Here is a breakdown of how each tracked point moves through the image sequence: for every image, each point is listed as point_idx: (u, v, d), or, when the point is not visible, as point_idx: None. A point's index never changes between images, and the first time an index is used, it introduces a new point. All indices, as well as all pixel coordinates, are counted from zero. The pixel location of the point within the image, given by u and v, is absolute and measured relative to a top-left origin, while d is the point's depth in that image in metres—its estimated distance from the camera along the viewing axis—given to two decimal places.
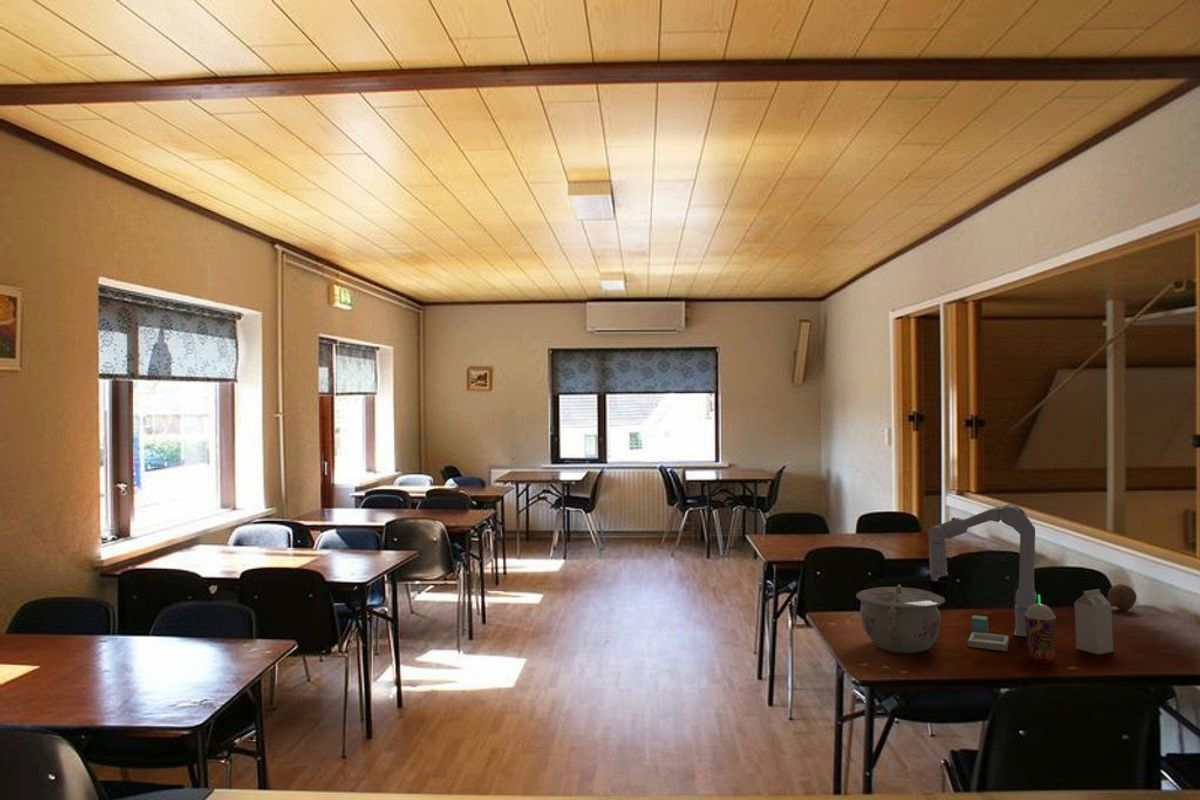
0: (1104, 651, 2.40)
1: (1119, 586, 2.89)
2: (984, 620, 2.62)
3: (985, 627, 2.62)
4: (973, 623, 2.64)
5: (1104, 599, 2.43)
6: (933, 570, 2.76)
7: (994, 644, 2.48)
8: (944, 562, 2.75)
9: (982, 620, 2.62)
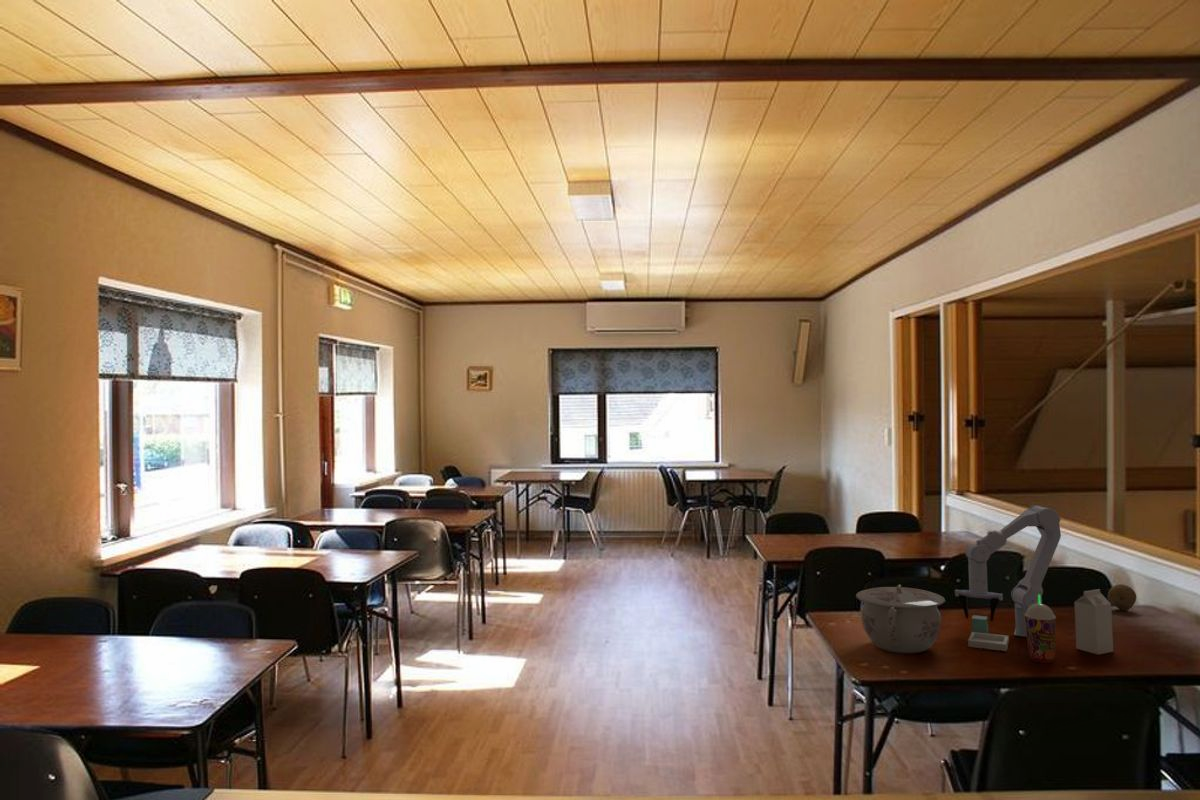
0: (1104, 651, 2.40)
1: (1119, 586, 2.89)
2: (984, 620, 2.62)
3: (985, 627, 2.62)
4: (973, 623, 2.64)
5: (1104, 599, 2.43)
6: None
7: (994, 644, 2.48)
8: (972, 582, 2.64)
9: (982, 620, 2.62)
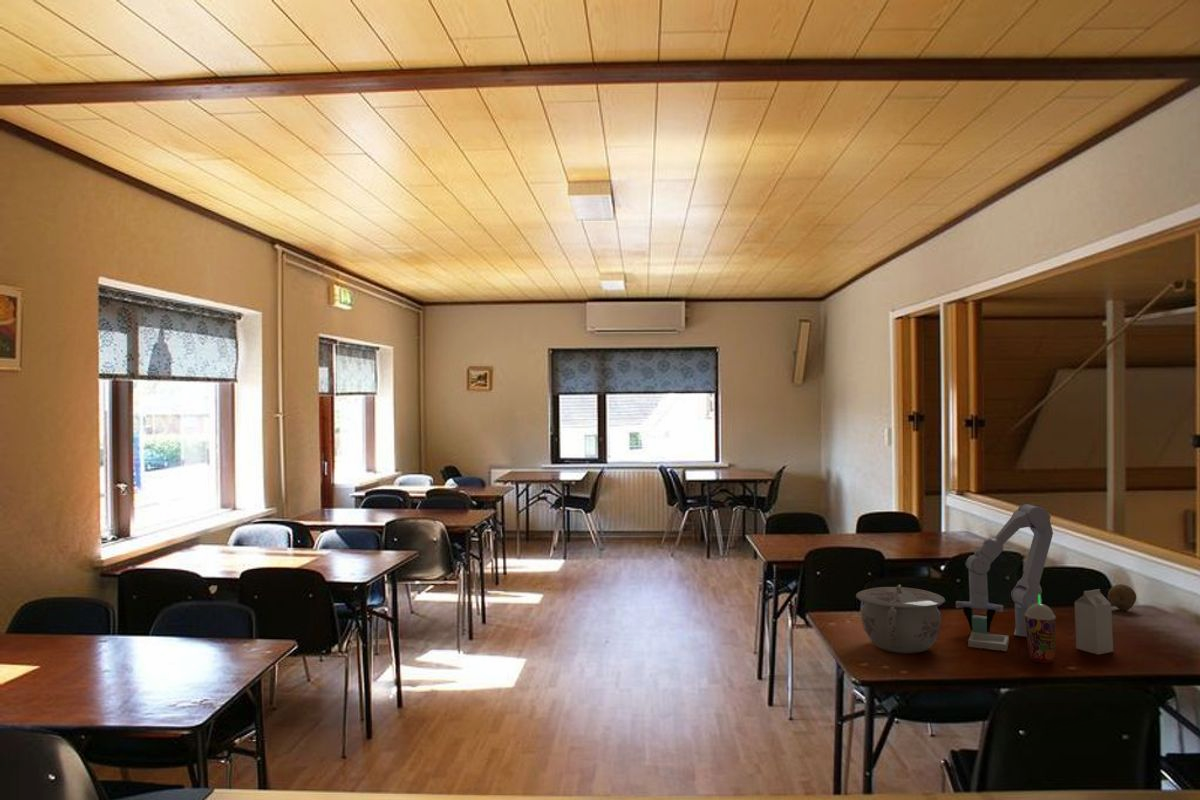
0: (1104, 651, 2.40)
1: (1119, 586, 2.89)
2: (984, 620, 2.62)
3: (985, 627, 2.62)
4: (973, 623, 2.64)
5: (1104, 599, 2.43)
6: None
7: (994, 644, 2.48)
8: (973, 593, 2.64)
9: (982, 620, 2.62)
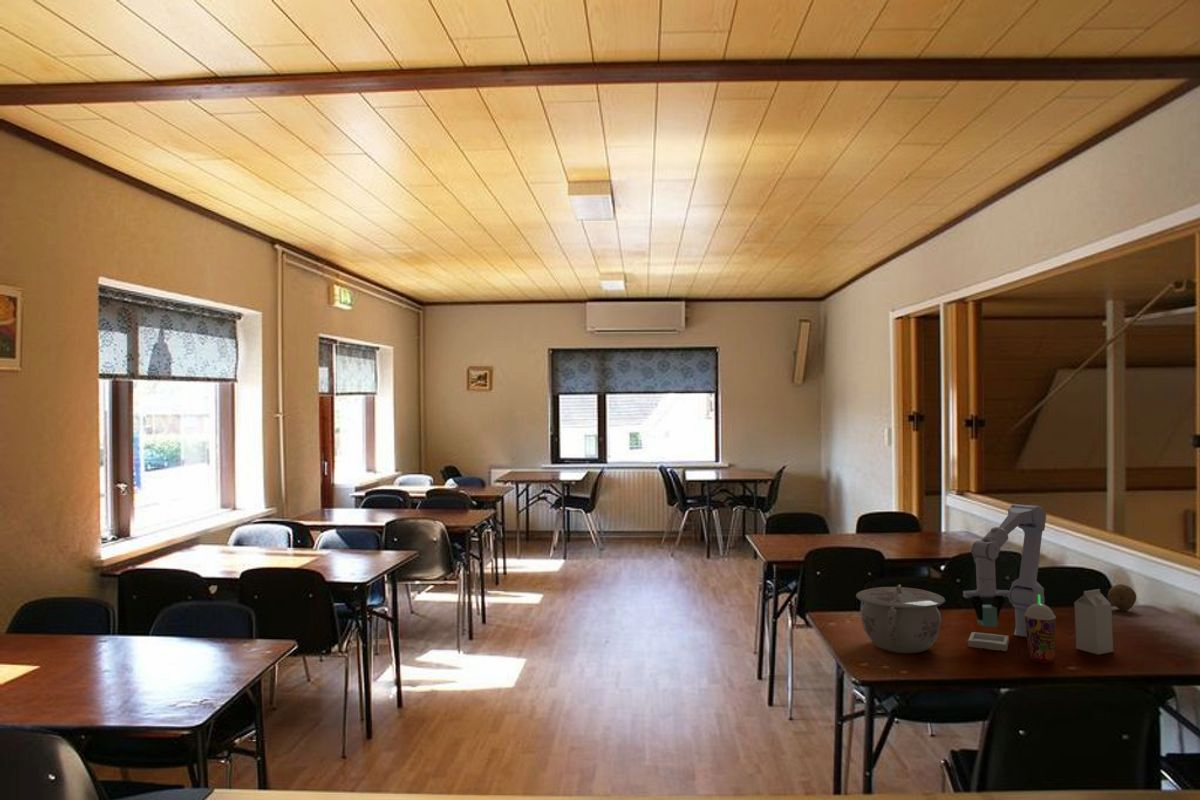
0: (1104, 651, 2.40)
1: (1119, 586, 2.89)
2: (995, 608, 2.52)
3: (996, 616, 2.52)
4: (984, 613, 2.52)
5: (1104, 599, 2.43)
6: None
7: (994, 644, 2.48)
8: (985, 581, 2.52)
9: (993, 609, 2.52)
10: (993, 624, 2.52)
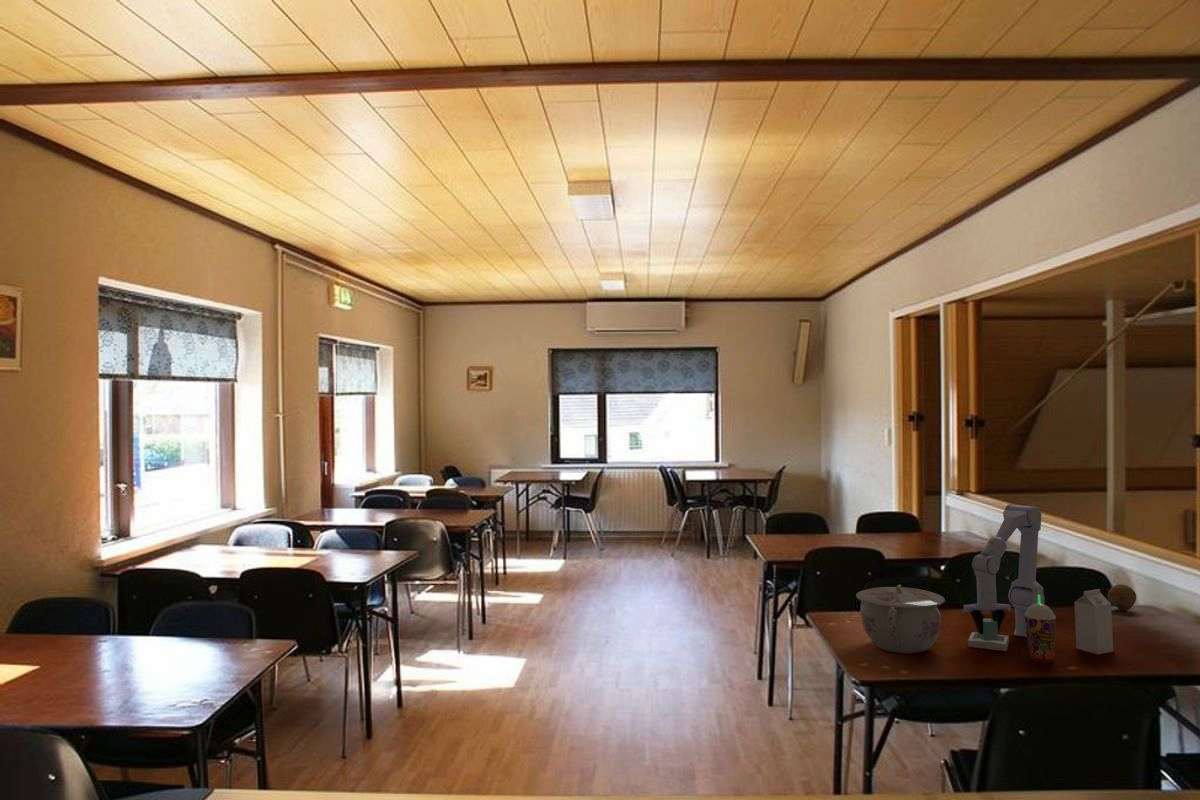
0: (1104, 651, 2.40)
1: (1119, 586, 2.89)
2: (995, 623, 2.52)
3: (996, 630, 2.51)
4: (985, 627, 2.52)
5: (1104, 599, 2.43)
6: (977, 601, 2.55)
7: (994, 644, 2.48)
8: (985, 595, 2.51)
9: (993, 623, 2.52)
10: (994, 638, 2.51)
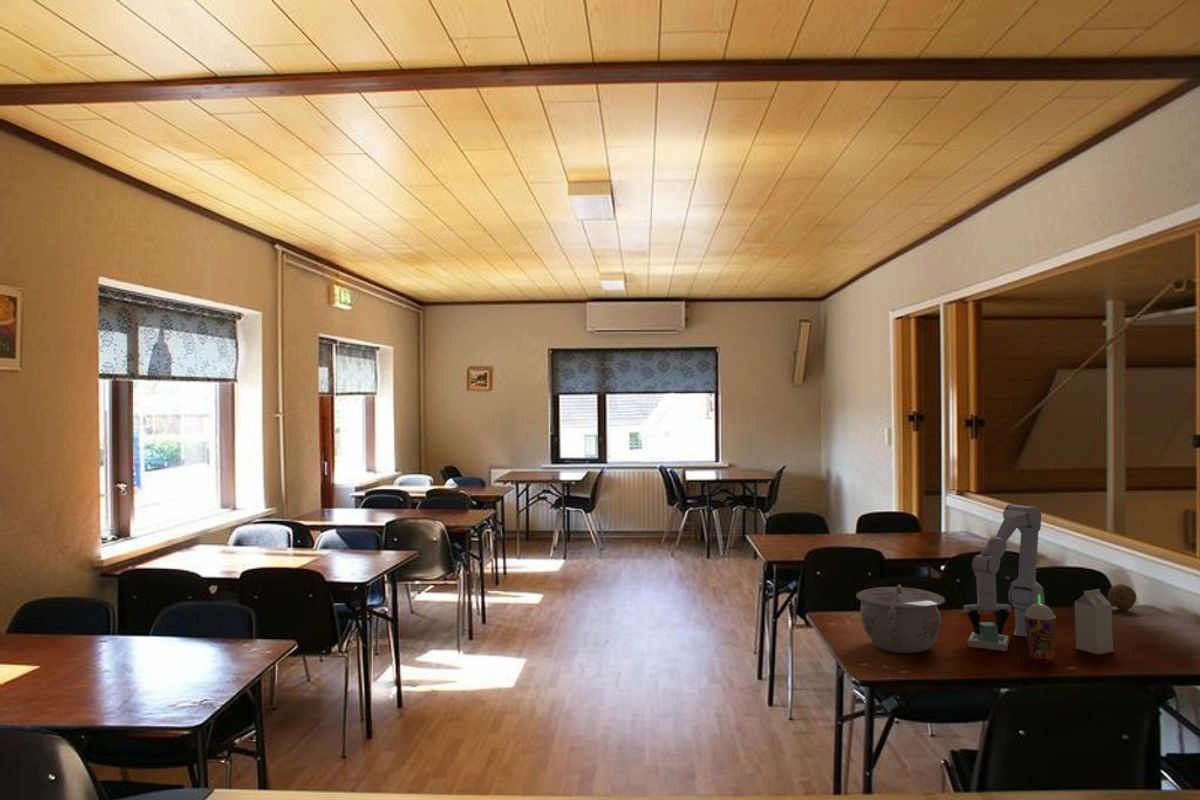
0: (1104, 651, 2.40)
1: (1119, 586, 2.89)
2: (995, 626, 2.51)
3: (996, 634, 2.51)
4: (985, 631, 2.52)
5: (1104, 599, 2.43)
6: (977, 601, 2.55)
7: (994, 644, 2.48)
8: (985, 595, 2.51)
9: (994, 627, 2.51)
10: None
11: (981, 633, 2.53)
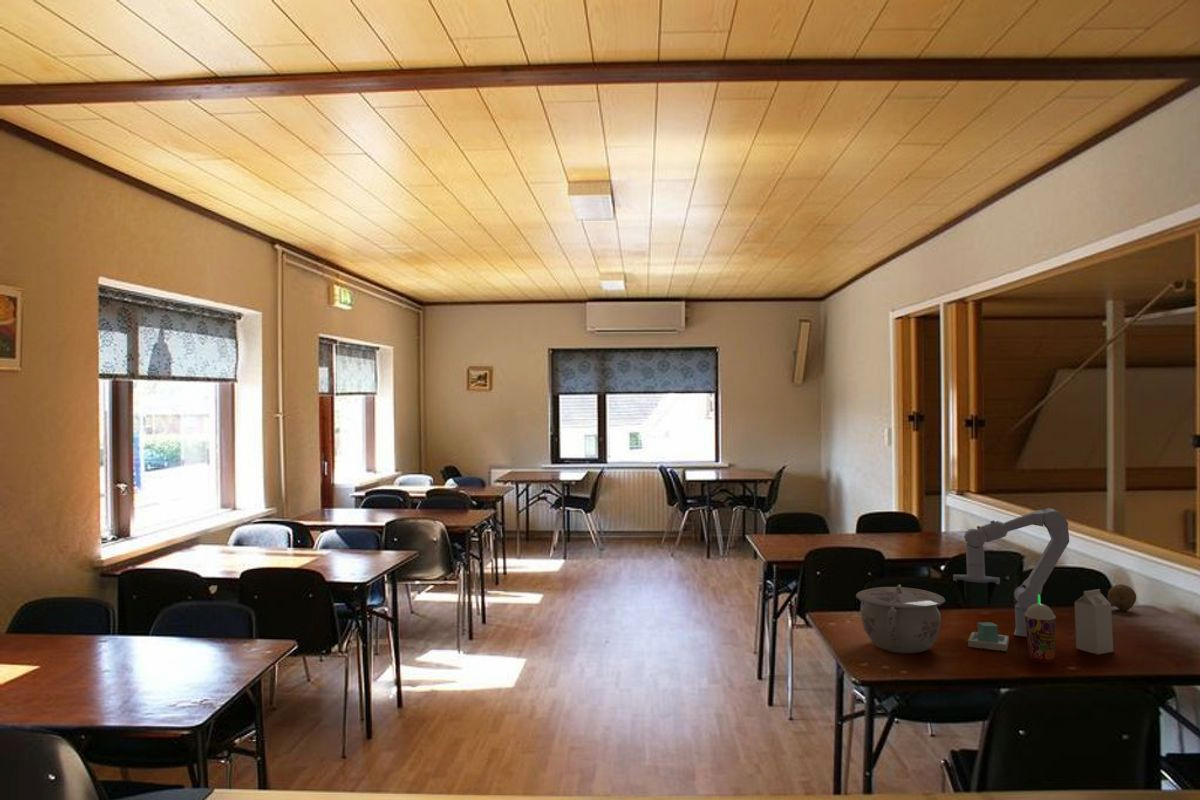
0: (1104, 651, 2.40)
1: (1119, 586, 2.89)
2: (995, 626, 2.51)
3: (996, 634, 2.51)
4: (985, 631, 2.52)
5: (1104, 599, 2.43)
6: None
7: (994, 644, 2.48)
8: (970, 566, 2.68)
9: (994, 627, 2.51)
10: None
11: (981, 633, 2.53)
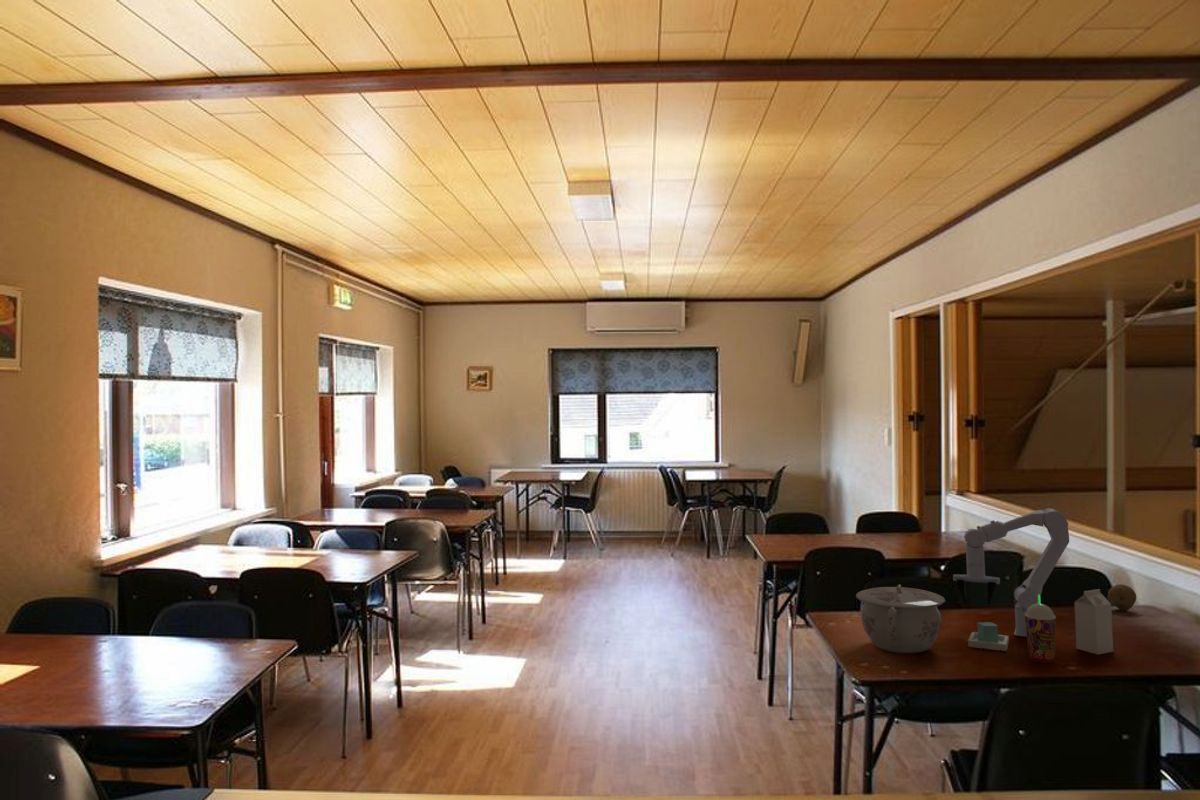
0: (1104, 651, 2.40)
1: (1119, 586, 2.89)
2: (995, 626, 2.51)
3: (996, 634, 2.51)
4: (985, 631, 2.52)
5: (1104, 599, 2.43)
6: None
7: (994, 644, 2.48)
8: (970, 566, 2.68)
9: (994, 627, 2.51)
10: None
11: (981, 633, 2.53)
